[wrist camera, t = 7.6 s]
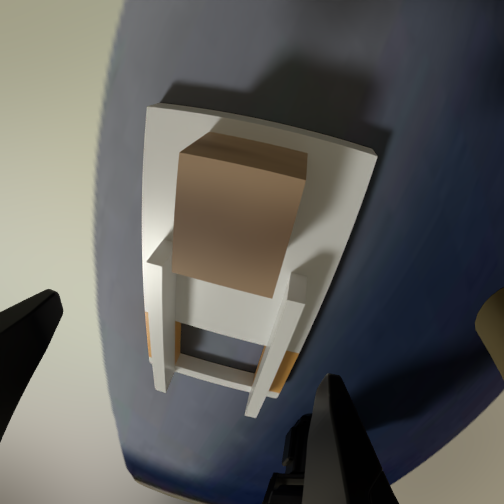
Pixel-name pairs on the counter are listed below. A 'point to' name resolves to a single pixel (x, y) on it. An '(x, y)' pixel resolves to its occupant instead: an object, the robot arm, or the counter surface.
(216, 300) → the white mounting bracket
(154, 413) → the counter surface
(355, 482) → the robot arm
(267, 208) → the walnut block
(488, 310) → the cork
